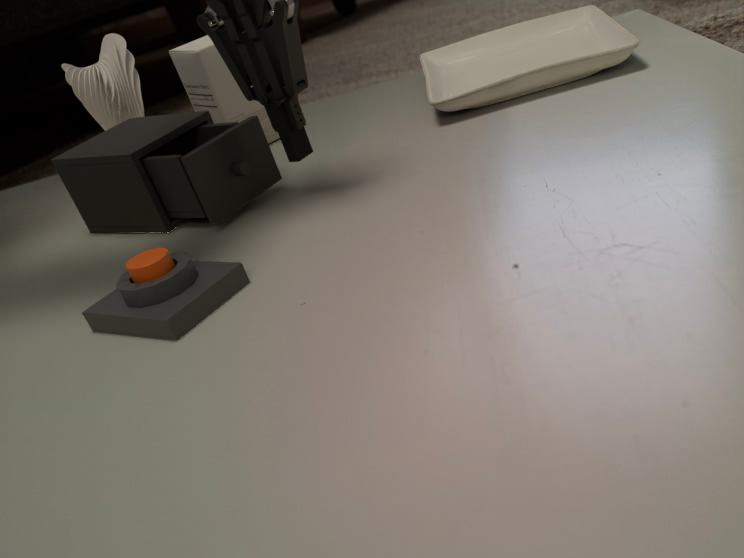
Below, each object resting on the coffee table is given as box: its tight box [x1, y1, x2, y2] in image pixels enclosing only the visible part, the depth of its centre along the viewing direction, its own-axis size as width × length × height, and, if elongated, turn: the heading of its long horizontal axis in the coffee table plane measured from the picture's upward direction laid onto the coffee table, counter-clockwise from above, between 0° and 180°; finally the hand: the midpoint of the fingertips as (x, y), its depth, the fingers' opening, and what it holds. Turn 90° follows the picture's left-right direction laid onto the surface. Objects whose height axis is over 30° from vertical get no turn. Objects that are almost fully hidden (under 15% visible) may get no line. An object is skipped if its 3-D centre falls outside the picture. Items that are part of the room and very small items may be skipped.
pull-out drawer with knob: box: [140, 116, 283, 225], centre depth 99 cm, size 15×12×8 cm
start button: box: [125, 247, 175, 284], centre depth 78 cm, size 4×4×2 cm
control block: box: [81, 252, 251, 341], centre depth 79 cm, size 12×10×4 cm
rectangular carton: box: [168, 34, 280, 145], centre depth 118 cm, size 9×9×15 cm
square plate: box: [419, 4, 641, 113], centre depth 116 cm, size 27×27×4 cm
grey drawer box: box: [50, 111, 214, 234], centre depth 103 cm, size 15×13×10 cm
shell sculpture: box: [61, 32, 146, 131], centre depth 124 cm, size 8×8×18 cm
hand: (301, 156), depth 96 cm, fingers closed
